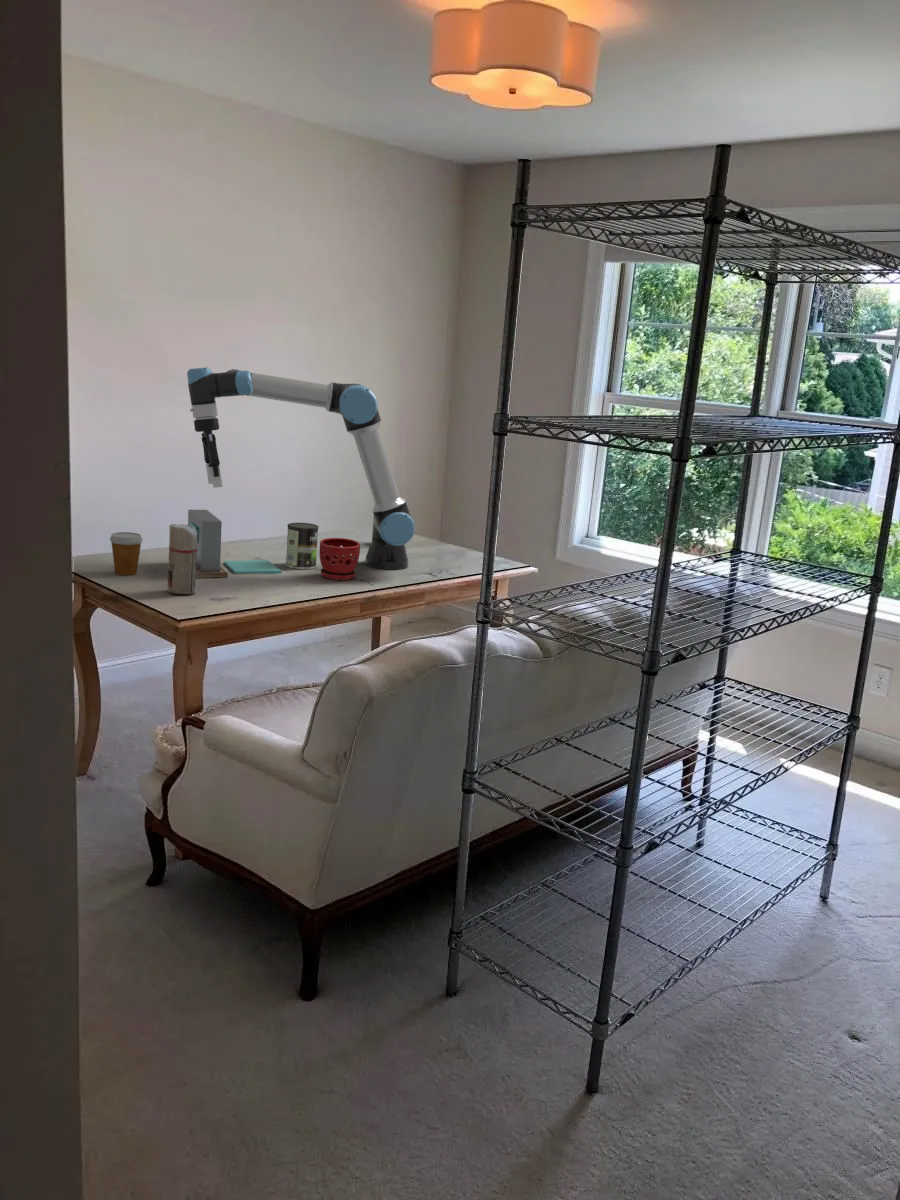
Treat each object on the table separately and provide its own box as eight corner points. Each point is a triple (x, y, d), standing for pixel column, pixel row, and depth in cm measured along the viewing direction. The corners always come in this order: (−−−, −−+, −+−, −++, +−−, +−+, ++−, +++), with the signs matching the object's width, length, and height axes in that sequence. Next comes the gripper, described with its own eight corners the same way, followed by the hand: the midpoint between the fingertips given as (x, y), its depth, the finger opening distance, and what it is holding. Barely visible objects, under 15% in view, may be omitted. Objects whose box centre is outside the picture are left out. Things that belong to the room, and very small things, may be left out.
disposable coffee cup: (148, 572, 306) (149, 534, 303) (129, 578, 297) (129, 539, 294) (122, 568, 309) (123, 530, 306) (102, 573, 300) (103, 534, 297)
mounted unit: (227, 577, 309) (229, 522, 305) (195, 578, 305) (197, 522, 300) (209, 560, 330) (211, 508, 325) (179, 560, 325) (180, 508, 321)
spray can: (169, 587, 291) (171, 521, 286) (197, 589, 292) (199, 523, 287) (163, 595, 283) (165, 526, 278) (193, 597, 284) (195, 528, 279)
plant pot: (310, 574, 324) (312, 538, 321) (344, 571, 332) (347, 536, 329) (330, 583, 314) (333, 546, 311) (365, 580, 322) (368, 544, 319)
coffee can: (320, 565, 338) (322, 524, 335) (310, 571, 328) (312, 529, 325) (291, 561, 340) (294, 521, 336) (280, 567, 330) (283, 525, 327)
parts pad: (280, 573, 321) (281, 570, 321) (235, 574, 315) (235, 571, 315) (267, 562, 334) (268, 560, 334) (223, 563, 328) (223, 560, 327)
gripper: (189, 418, 320) (199, 483, 325) (197, 420, 297) (207, 490, 302) (213, 416, 323) (222, 480, 328) (222, 417, 300) (232, 487, 305)
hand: (215, 485), depth 315 cm, fingers open, 13 cm apart
